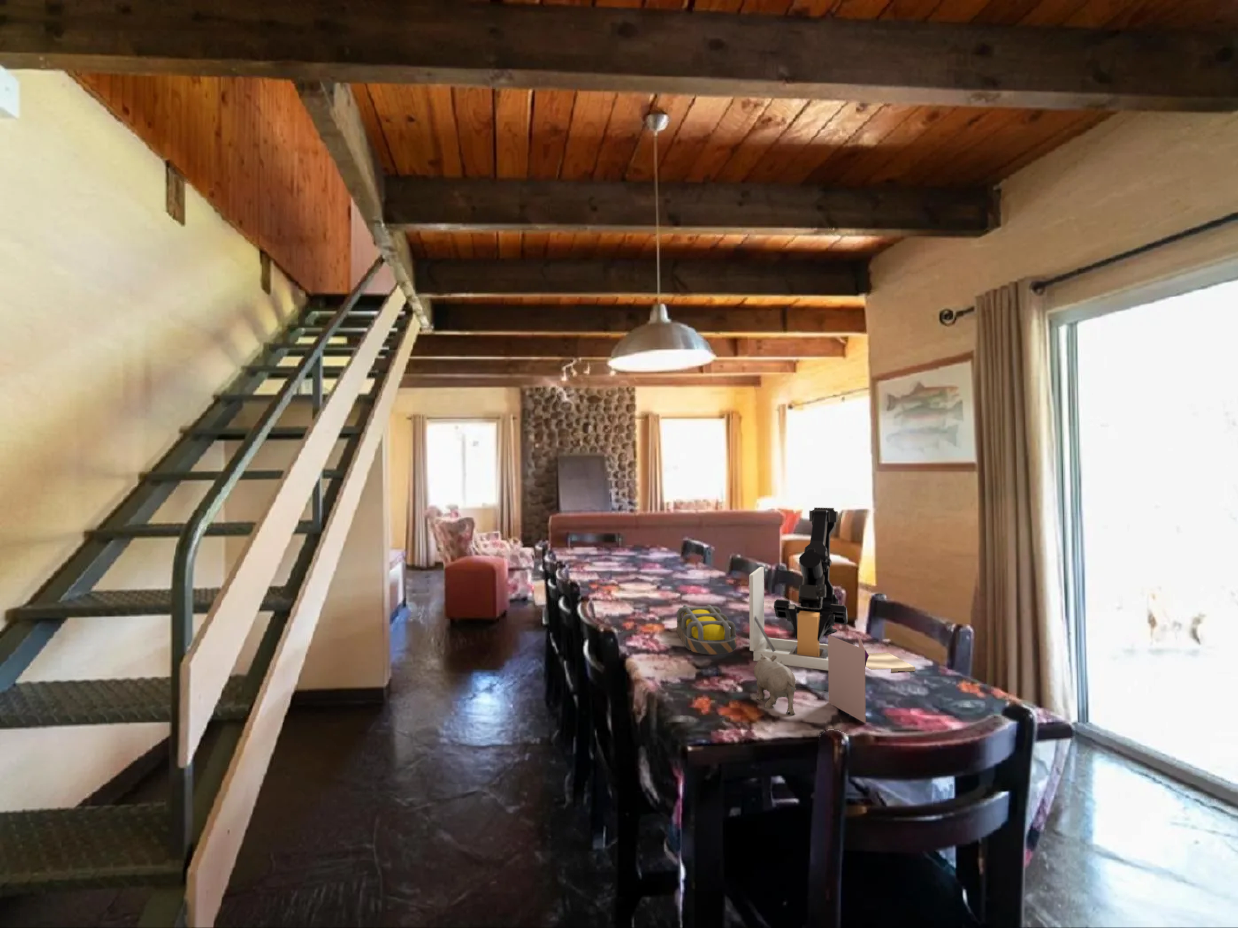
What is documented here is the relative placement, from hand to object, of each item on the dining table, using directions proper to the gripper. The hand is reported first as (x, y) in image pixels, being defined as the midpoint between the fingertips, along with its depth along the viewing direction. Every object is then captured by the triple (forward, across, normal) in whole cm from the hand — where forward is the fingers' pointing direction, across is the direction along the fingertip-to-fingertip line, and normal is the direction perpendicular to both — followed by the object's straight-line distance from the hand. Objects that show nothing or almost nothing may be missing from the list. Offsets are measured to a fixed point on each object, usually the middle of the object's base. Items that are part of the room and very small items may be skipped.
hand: (807, 639), depth 159 cm
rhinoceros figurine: (+24, -4, -15) cm, 29 cm away
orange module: (+3, 0, +5) cm, 6 cm away
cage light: (-3, -32, +13) cm, 34 cm away
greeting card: (+24, +12, -14) cm, 31 cm away
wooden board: (-1, +17, +10) cm, 20 cm away
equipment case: (+4, -4, +6) cm, 8 cm away
